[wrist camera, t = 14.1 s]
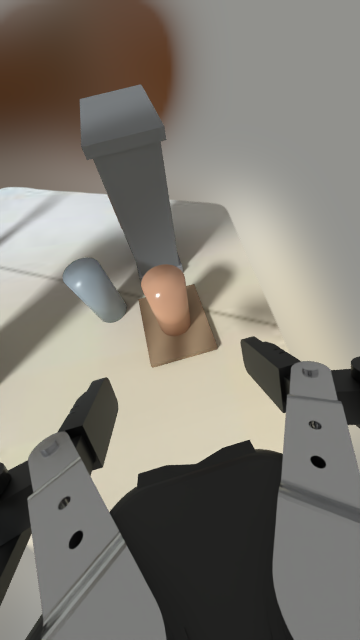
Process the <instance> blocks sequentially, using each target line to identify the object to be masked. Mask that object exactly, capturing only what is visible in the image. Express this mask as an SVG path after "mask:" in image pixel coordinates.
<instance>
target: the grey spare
mask: <svg viewBox="0 0 360 640" xmlns="http://www.w3.org/2000/svg"><path fill="white" fill-rule="evenodd" d="M63 281H64V283H65V284H66V285H67V286H68V287H69V288H70V289H71V290H72V291H73V292H74V293H75V294H76V295H77V296H78V297H79V298H80V299H81V300H82V301H83V302H84V303H85V304H86V305H87V306H88V307H89V308H90V309H91V310H92V311H93V312H94V313H95V314H96V315H97V316H98V317H99V318H100V319H101V320H103V321H104V322H107V323H112V322H116V321H118V320H120V319H121V318H122V317H123V316H124V314H125V313H126V309H127V307H126V303H125V302H124V300H123V299H122V297H121V296H120V294H119V293H118V291H117V290H116V288H115V287H114V285H113V284H112V282H111V281H110V279H109V278H108V276H107V275H106V273H105V271H104V270H103V268H102V267H101V265H100V264H99V262H98V261H97V260H95V259H93V258H81V259H78V260H76V261H74V262H72V263H71V264H70V265H69V266H68V267H67V268H66V269H65V271H64V273H63Z"/></svg>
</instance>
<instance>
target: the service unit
mask: <svg viewBox="0 0 360 640" xmlns="http://www.w3.org/2000/svg"><path fill="white" fill-rule="evenodd" d="M80 117H81V118H80V119H81V147H82V150H83V152H84V154H85V156H86V159H87V160H89V159H93V160H94V163H95V165H96V167H97V170H98V172H99V174H100V177H101V179H102V182H103V184H104V186H105V189H106V191H107V194H108V197H109V199H110V202H111V204H112V206H113V209H114V211H115V214H116V216H117V218H118V221H119V223H120V226H121V228H122V229H123V232H124V234H125V237H126V239H127V241H128V244H129V246H130V249H131V251H132V253H133V256H134V258H135V260H136V263H137V268H138V273H139V278H140V280H141V282H142V278H143V276H144V275H145V273H146V272H147V271H149V270H150V269H151V268H153V267H155V266H158V265H164V264H168V265H173V266H176V267H178V268H179V269H180V270H181V271H182V272H183V268H182V264H181V262H180V259H179V256H178V253H177V249H176V242H175V235H174V229H173V222H172V215H171V208H170V202H169V195H168V188H167V182H166V175H165V169H164V161H163V155H162V148H161V141H164V140H166V135H165V128H164V125H163V123H162V121H161V120H160V118H159V116H158V114H157V113H156V111H155V109H154V107H153V105H152V103H151V102H150V100H149V98H148V96H147V94H146V93H145V91H144V89H143V87H142V85H137V86H133V87H129V88H124V89H120V90H116V91H112V92H108V93H104V94H100V95H96V96H91V97H87V98H83V99H80Z"/></svg>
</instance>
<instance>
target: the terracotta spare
mask: <svg viewBox="0 0 360 640" xmlns="http://www.w3.org/2000/svg"><path fill="white" fill-rule="evenodd" d="M141 287H142V290H143V292H144V294H145V296H146V298H147V301H148V303H149V305H150V307H151V309H152V311H153V313H154V315H155V317H156V320H157V322H158V324H159V326H160V328H161V330H162V331H163V332H164V333H165V334H167V335H169V336H179V335H182V334H183V333H185V332H186V331H187V330H188V329H189V327H190V324H191V319H190V312H189V304H188V297H187V290H186V283H185V277H184V274H183V272H182V271H181V270H180V269H179V268H178V267H176V266H173V265H168V264H164V265H158V266H155V267H153V268H151V269H150V270H149V271H147V272H146V273H145V275H144V276H143V278H142V282H141Z"/></svg>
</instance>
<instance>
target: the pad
mask: <svg viewBox="0 0 360 640" xmlns="http://www.w3.org/2000/svg"><path fill="white" fill-rule="evenodd" d="M186 290H187V297H188V304H189V312H190V319H191V324H190V327H189V329H188V330H187V331H186V332H185V333H183V334H182V335H179V336H169V335H167V334H165V333H164V332H163V331H162V330H161V328H160V326H159V324H158V322H157V320H156V317H155V315H154V313H153V311H152V309H151V307H150V305H149V303H148V301H147V298H146V297H145V298H142V299H138V300H139V305H140V310H141V315H142V321H143V326H144V331H145V337H146V342H147V347H148V352H149V358H150V363H151V366H152V368H153V367H157V366H160V365H164V364H167V363H171V362H174V361H178V360H181V359H185V358H188V357H192V356H195V355H199V354H202V353H206V352H209V351H213V350H216V349H217V344H216V341H215V339H214V336H213V333H212V331H211V328H210V325H209V323H208V320H207V317H206V315H205V312H204V309H203V307H202V304H201V301H200V299H199V296H198V293H197V291H196V288H195V285H194V284H193V285H189V286H186Z"/></svg>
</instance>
